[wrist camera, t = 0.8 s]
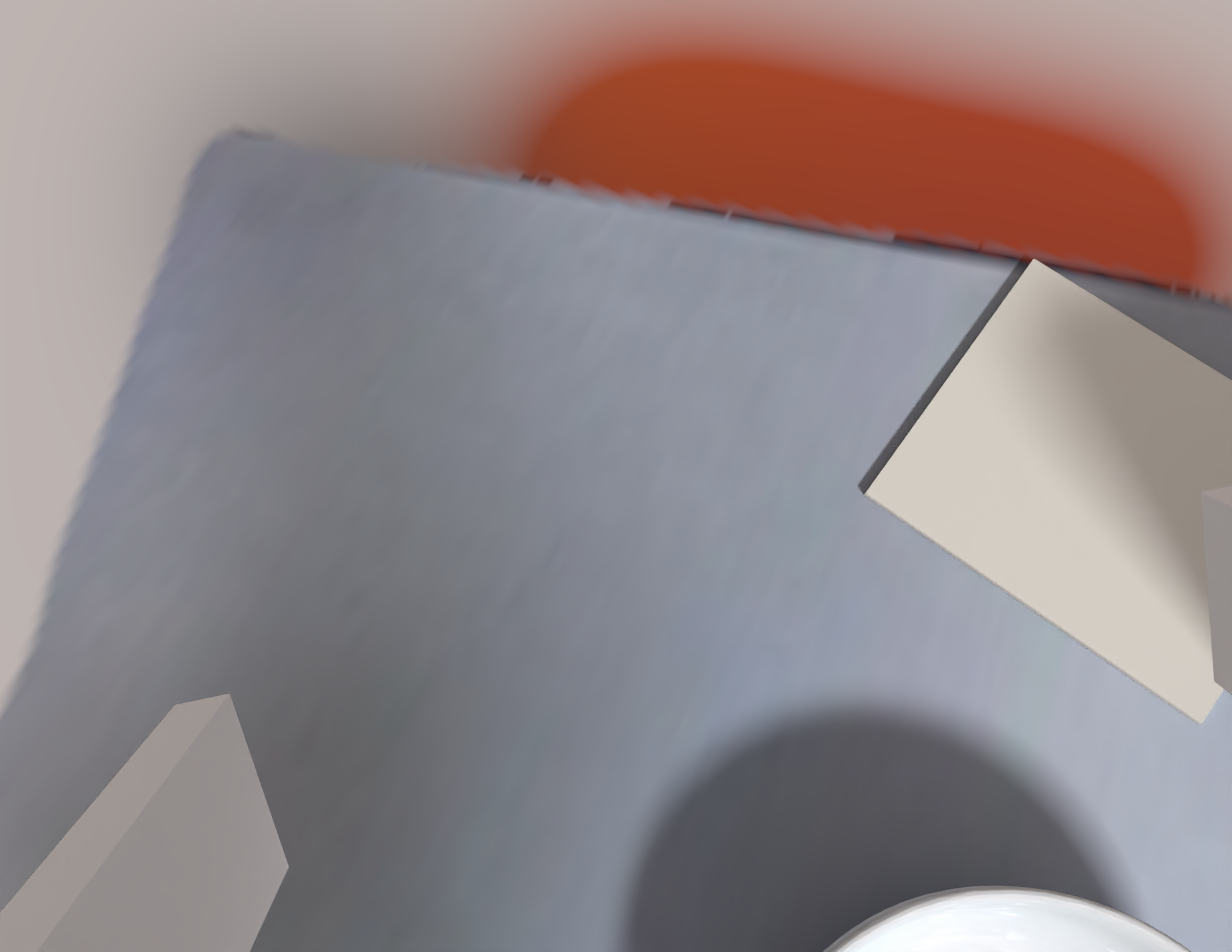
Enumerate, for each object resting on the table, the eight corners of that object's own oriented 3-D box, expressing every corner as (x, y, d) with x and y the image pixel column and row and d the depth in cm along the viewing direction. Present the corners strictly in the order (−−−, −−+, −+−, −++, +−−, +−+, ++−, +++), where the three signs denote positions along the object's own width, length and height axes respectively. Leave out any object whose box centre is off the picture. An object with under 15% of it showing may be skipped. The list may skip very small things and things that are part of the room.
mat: (1362, 466, 46) (1368, 464, 45) (1196, 723, 44) (1201, 724, 44) (1031, 261, 49) (1033, 258, 49) (863, 494, 47) (865, 493, 47)
